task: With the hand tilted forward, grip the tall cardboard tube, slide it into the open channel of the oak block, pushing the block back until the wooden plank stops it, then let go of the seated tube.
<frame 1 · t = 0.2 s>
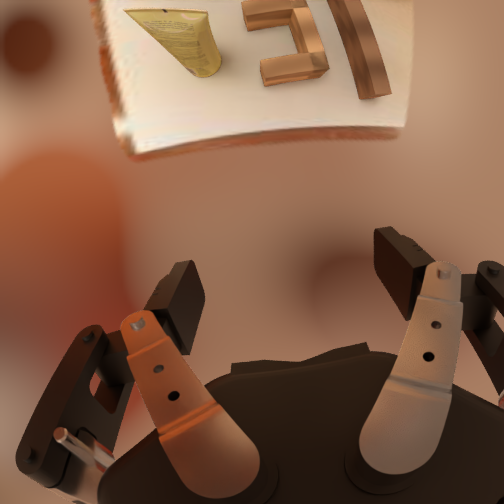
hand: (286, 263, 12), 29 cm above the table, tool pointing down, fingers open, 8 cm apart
tube: (206, 63, 31), on the table
block: (283, 38, 27), point 3 cm above the table, slide at 0.0 cm
wooden plank: (349, 39, 28), on the table
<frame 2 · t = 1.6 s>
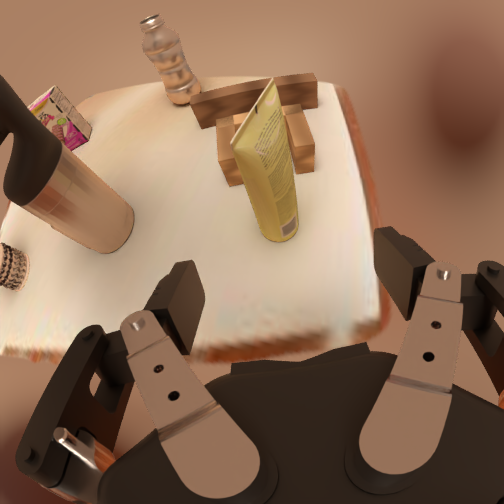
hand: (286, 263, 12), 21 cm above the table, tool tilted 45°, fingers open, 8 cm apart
tube: (280, 223, 35), on the table
candy bar box: (74, 144, 50), on the table
block: (264, 143, 35), point 3 cm above the table, slide at 0.0 cm
wooden plank: (258, 111, 42), on the table
decorative candle: (20, 272, 42), on the table
plastic bottle: (187, 98, 47), on the table
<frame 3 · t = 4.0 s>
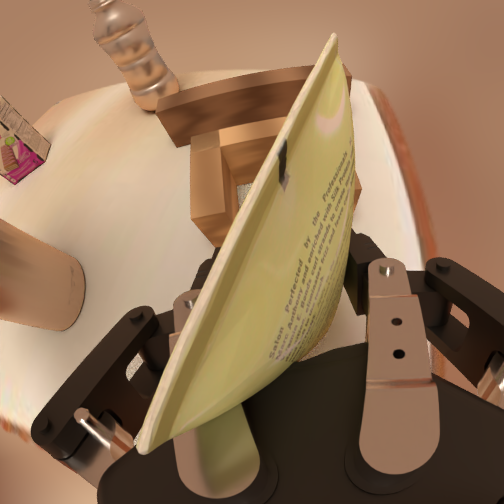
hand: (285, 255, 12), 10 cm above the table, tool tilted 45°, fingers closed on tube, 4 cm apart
tube: (295, 317, 21), on the table, touching gripper
candy bar box: (32, 166, 37), on the table
block: (272, 178, 22), point 3 cm above the table, slide at 0.0 cm
wooden plank: (260, 120, 28), on the table
plastic bottle: (162, 102, 33), on the table
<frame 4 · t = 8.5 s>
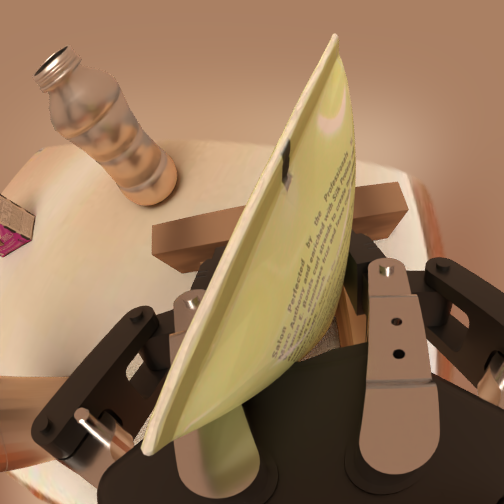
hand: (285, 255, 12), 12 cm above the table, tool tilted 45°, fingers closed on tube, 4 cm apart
tube: (294, 317, 21), point 2 cm above the table, touching block, gripper
candy bar box: (19, 238, 34), on the table
block: (293, 310, 20), point 3 cm above the table, slide at 4.0 cm, touching tube
wooden plank: (283, 243, 25), on the table
plastic bottle: (157, 188, 30), on the table
when the fingers open (10 cm above the table, at t = 9.7 s): tube stays where it is, resting on block.
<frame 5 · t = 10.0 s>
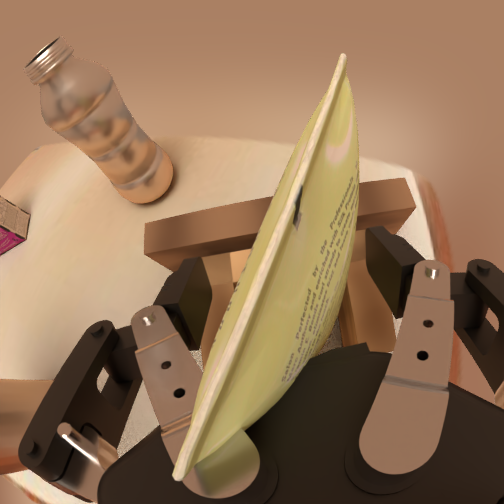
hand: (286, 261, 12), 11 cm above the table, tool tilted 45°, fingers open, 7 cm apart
tube: (294, 318, 22), resting on block
candy bar box: (14, 237, 32), on the table
block: (294, 310, 19), point 3 cm above the table, slide at 4.2 cm, touching tube
wooden plank: (283, 242, 24), on the table
plastic bottle: (153, 186, 29), on the table
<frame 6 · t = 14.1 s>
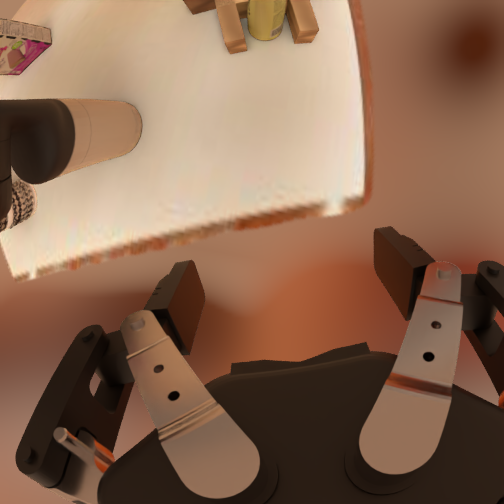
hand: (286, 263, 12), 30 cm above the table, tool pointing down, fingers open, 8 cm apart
tube: (265, 26, 29), resting on block
candy bar box: (34, 52, 27), on the table
block: (265, 18, 26), point 3 cm above the table, slide at 4.2 cm, touching tube
decorative candle: (26, 198, 41), on the table
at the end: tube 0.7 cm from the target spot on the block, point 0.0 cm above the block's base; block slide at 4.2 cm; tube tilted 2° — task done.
